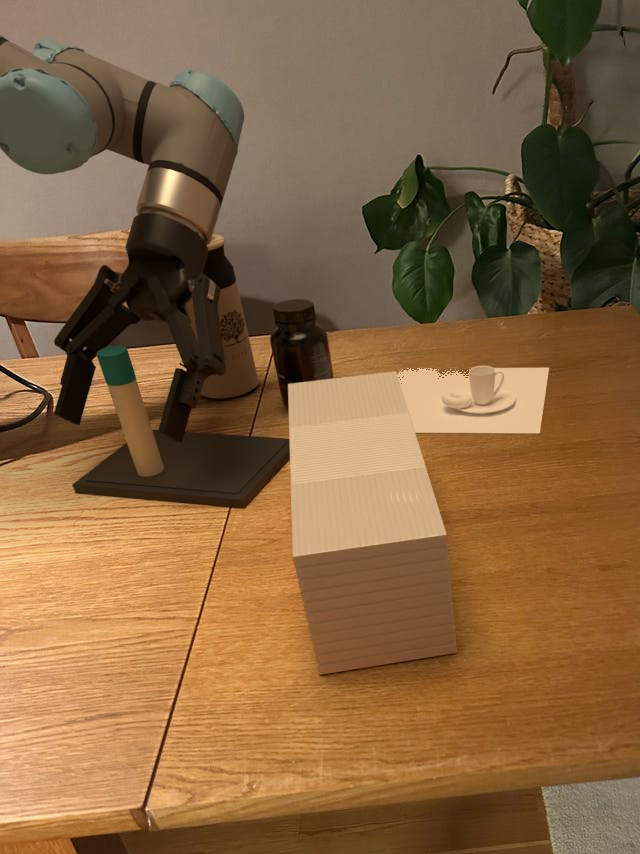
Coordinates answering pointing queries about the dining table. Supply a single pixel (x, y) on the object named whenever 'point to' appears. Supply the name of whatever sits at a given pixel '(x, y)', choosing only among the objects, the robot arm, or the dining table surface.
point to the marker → (130, 409)
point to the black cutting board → (193, 470)
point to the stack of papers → (366, 526)
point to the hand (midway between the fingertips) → (116, 428)
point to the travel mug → (227, 329)
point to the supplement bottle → (299, 345)
